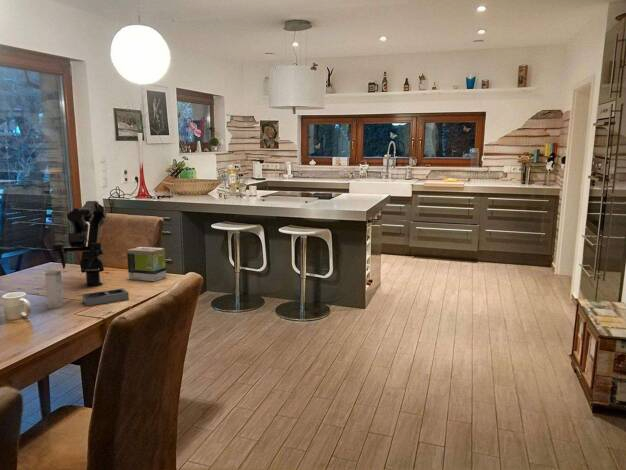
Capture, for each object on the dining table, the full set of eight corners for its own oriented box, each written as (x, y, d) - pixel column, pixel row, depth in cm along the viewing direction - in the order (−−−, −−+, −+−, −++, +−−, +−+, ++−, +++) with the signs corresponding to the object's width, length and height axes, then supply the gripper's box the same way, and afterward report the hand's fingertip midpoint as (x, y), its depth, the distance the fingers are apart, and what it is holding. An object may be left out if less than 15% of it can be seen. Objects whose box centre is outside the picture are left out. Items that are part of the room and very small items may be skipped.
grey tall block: (53, 305, 192) (50, 270, 189) (63, 305, 192) (60, 270, 189) (48, 308, 188) (44, 273, 185) (58, 308, 188) (55, 273, 185)
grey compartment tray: (82, 301, 196) (82, 294, 196) (123, 295, 206) (122, 288, 205) (87, 306, 190) (86, 299, 190) (128, 299, 200) (128, 292, 199)
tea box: (166, 277, 237) (165, 247, 235) (153, 282, 228) (152, 251, 225) (141, 274, 242) (140, 245, 240) (127, 279, 232) (126, 249, 230)
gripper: (50, 225, 194) (44, 259, 186) (99, 223, 198) (96, 257, 190) (58, 239, 203) (53, 272, 196) (105, 237, 207) (102, 270, 200)
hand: (75, 267), depth 195 cm, fingers open, 9 cm apart
